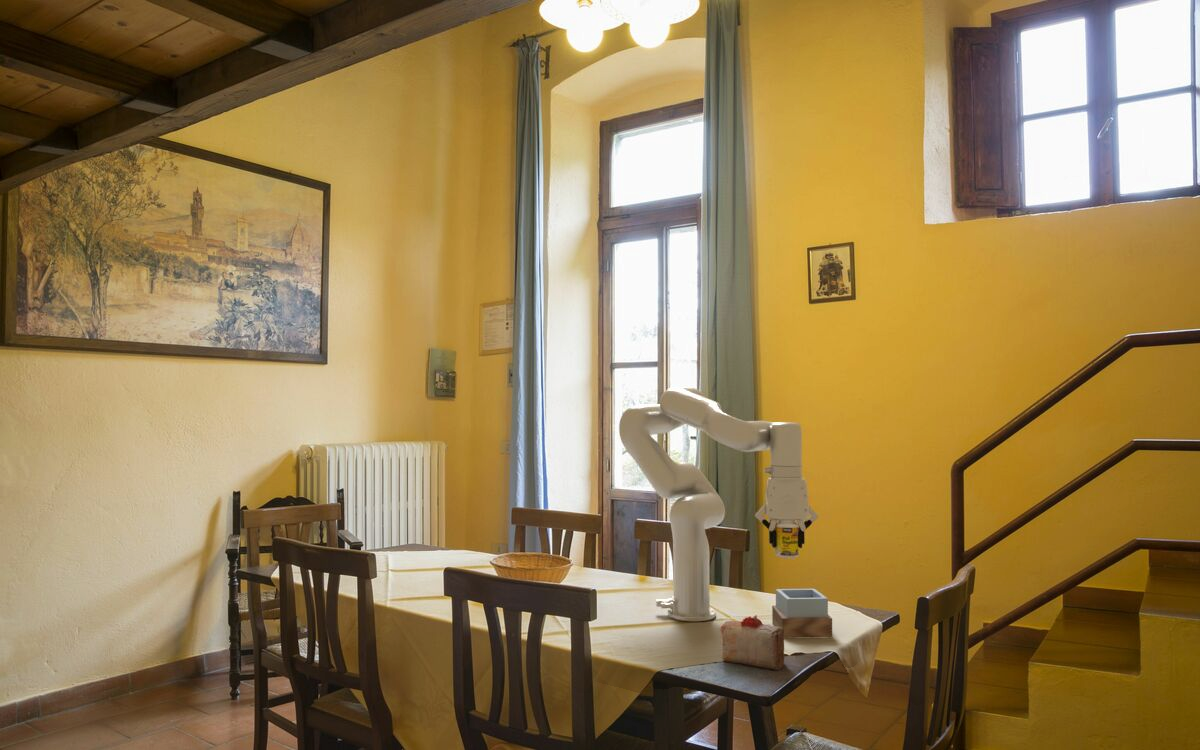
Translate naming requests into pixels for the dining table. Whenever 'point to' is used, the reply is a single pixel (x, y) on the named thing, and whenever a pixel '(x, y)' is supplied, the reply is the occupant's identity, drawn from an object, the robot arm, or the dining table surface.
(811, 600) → the tower top
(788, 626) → the tower base
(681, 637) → the dining table surface
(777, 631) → the food item
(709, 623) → the dining table surface
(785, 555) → the supplement bottle
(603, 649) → the dining table surface
